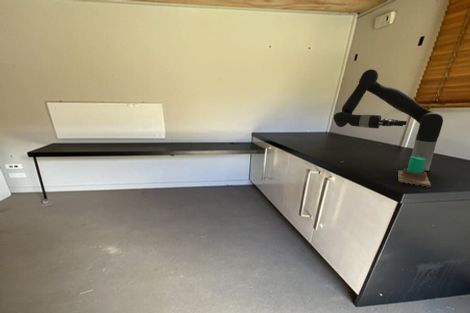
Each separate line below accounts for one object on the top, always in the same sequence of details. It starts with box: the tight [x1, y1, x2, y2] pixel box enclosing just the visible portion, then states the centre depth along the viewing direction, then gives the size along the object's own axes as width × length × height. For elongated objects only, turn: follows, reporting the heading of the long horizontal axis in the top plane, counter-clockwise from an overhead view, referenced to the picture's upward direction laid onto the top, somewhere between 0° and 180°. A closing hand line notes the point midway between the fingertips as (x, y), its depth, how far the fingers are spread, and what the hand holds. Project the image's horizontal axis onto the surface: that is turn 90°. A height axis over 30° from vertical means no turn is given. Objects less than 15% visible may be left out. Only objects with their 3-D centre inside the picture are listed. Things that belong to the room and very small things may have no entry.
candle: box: [407, 155, 426, 174], centre depth 105 cm, size 6×6×12 cm
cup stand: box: [397, 167, 432, 188], centre depth 106 cm, size 18×12×4 cm, turn 142°
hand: (404, 123), depth 108 cm, fingers open, 8 cm apart
